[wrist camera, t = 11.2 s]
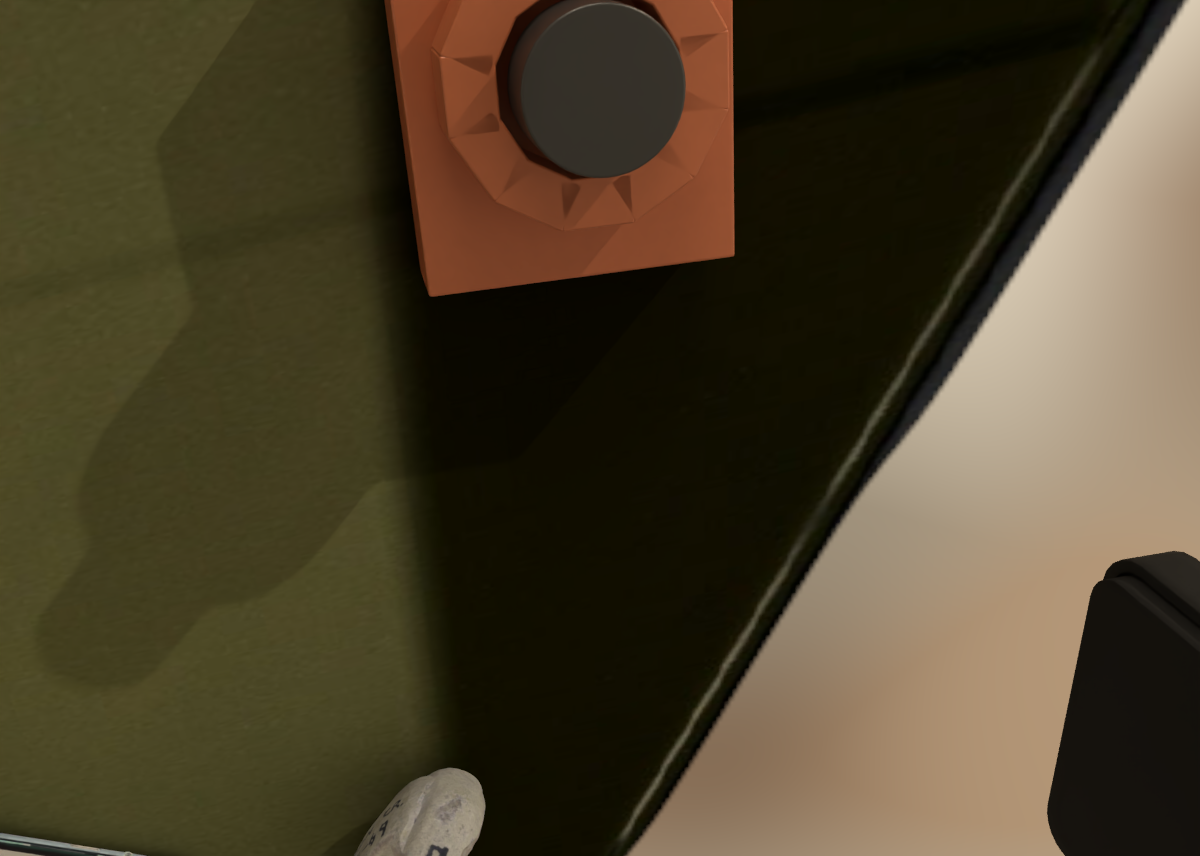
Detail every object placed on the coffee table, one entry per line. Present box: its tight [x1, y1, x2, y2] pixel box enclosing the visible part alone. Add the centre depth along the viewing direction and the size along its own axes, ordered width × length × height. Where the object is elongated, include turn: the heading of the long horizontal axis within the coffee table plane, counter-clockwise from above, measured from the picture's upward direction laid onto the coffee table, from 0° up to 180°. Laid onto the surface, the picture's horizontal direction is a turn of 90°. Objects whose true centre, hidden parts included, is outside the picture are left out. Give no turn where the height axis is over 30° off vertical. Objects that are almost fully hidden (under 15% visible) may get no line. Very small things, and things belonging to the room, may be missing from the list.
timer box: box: [384, 0, 734, 297], centre depth 27 cm, size 10×8×4 cm
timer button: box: [507, 0, 686, 178], centre depth 24 cm, size 4×4×2 cm
